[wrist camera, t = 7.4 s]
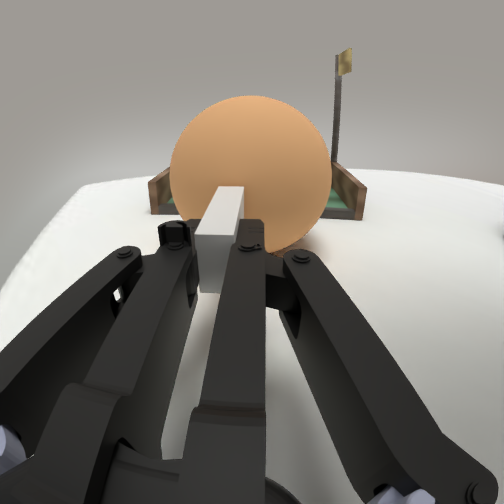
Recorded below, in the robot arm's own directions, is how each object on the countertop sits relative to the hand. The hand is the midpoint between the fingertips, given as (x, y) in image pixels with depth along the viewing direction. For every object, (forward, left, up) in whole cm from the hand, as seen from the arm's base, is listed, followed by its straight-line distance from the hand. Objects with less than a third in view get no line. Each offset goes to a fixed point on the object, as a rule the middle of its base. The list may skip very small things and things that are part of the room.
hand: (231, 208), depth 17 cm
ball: (-6, -4, +1) cm, 7 cm away
